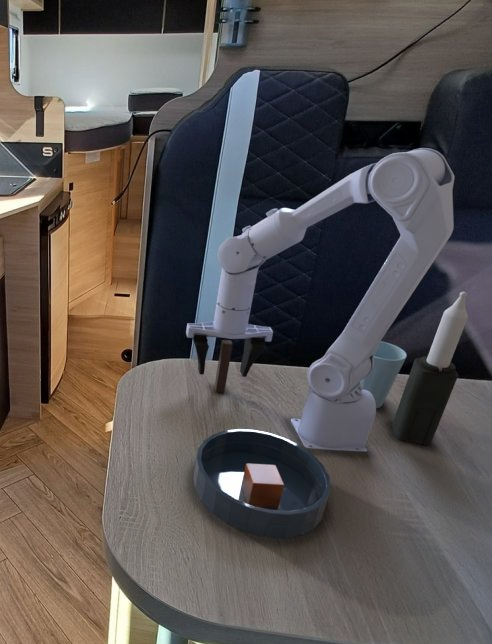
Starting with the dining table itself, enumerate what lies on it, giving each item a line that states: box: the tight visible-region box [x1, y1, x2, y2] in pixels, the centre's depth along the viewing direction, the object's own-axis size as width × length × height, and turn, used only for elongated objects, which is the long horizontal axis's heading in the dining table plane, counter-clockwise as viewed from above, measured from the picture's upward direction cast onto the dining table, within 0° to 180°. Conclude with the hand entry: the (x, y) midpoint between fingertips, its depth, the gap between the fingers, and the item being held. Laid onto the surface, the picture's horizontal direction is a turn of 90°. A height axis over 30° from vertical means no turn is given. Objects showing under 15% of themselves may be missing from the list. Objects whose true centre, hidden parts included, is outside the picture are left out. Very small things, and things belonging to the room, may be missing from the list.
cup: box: [360, 340, 408, 409], centre depth 92 cm, size 8×8×10 cm
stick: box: [213, 339, 234, 393], centre depth 94 cm, size 2×2×10 cm
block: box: [241, 463, 284, 508], centre depth 70 cm, size 4×4×4 cm
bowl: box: [192, 428, 332, 539], centre depth 71 cm, size 17×17×4 cm
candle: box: [391, 291, 469, 447], centre depth 79 cm, size 5×5×25 cm
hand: (221, 372), depth 95 cm, fingers open, 7 cm apart
